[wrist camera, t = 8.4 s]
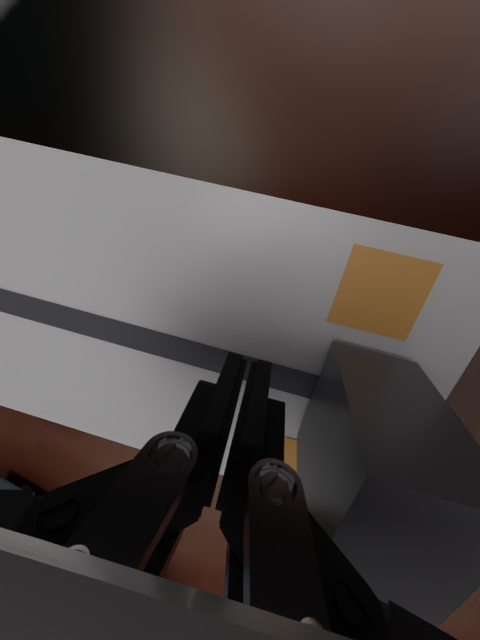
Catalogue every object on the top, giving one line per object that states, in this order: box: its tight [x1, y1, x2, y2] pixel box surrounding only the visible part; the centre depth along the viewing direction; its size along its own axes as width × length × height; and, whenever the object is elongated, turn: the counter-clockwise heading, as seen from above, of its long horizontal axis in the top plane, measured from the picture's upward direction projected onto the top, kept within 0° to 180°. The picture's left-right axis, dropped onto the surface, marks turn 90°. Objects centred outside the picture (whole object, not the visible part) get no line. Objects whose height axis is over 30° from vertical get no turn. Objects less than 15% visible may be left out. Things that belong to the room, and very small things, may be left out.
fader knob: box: [297, 341, 480, 627], centre depth 9 cm, size 3×5×6 cm, turn 168°
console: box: [0, 137, 480, 475], centre depth 15 cm, size 28×14×3 cm, turn 78°
